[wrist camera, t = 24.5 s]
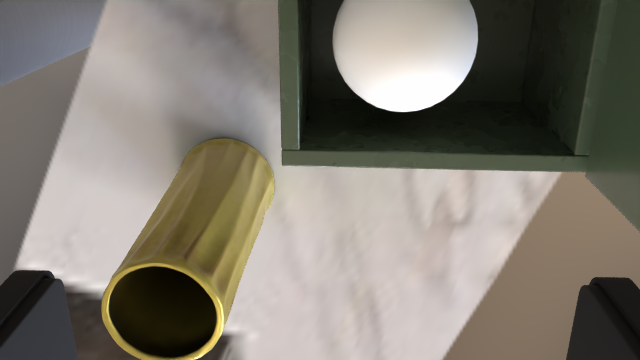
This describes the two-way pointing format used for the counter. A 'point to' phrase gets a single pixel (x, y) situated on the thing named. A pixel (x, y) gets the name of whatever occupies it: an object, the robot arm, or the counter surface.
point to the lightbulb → (404, 50)
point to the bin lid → (619, 118)
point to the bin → (454, 94)
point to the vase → (190, 255)
